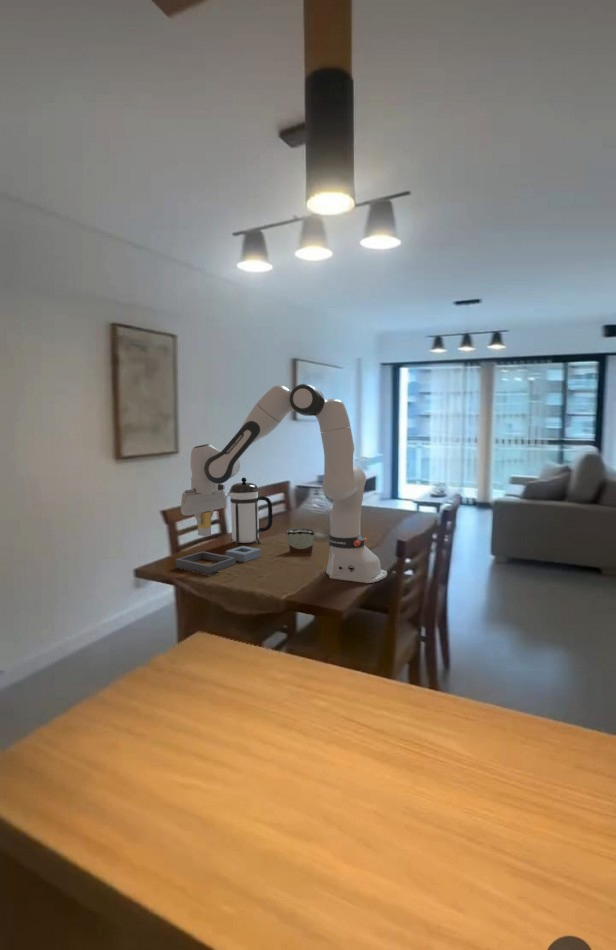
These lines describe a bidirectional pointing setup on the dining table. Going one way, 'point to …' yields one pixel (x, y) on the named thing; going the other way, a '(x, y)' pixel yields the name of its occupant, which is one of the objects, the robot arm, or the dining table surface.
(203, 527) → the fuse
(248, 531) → the coffee press
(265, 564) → the dining table surface
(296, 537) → the food container
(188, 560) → the parts tray
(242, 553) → the socket block
